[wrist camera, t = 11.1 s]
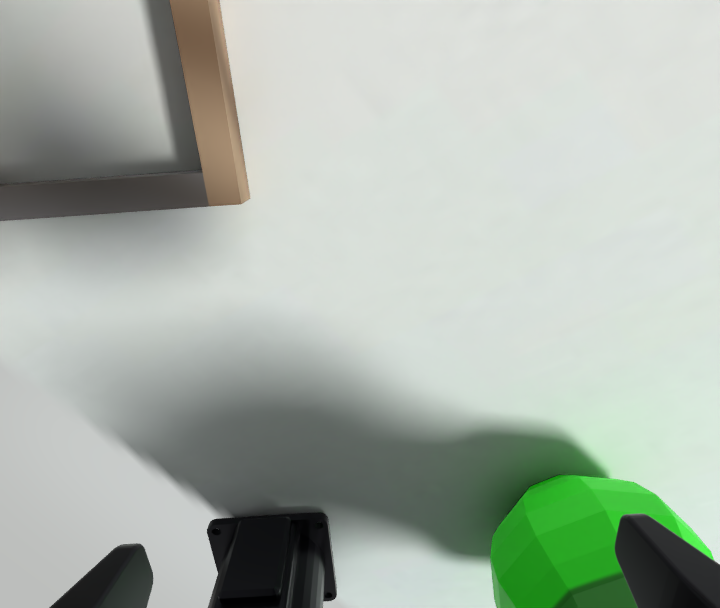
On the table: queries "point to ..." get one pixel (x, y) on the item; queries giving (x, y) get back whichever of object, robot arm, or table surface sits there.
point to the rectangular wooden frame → (174, 189)
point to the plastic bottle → (572, 543)
